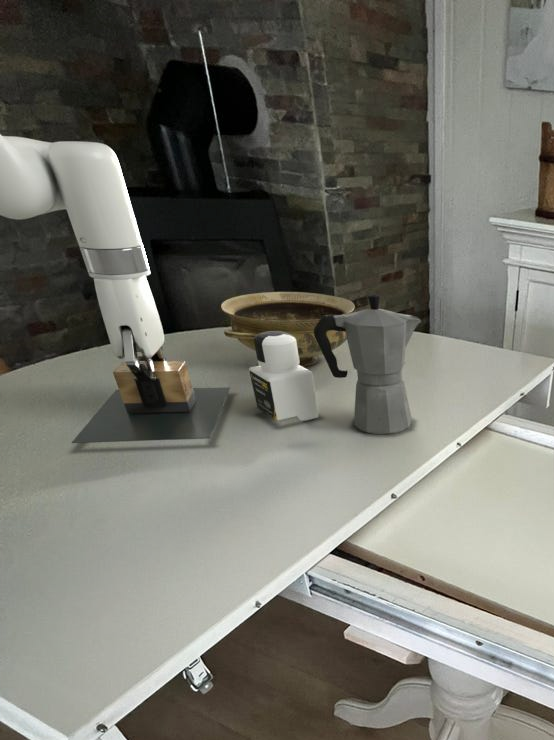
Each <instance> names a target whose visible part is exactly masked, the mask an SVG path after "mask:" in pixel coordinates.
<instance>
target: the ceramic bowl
mask: <svg viewBox="0 0 554 740" xmlns="http://www.w3.org/2000/svg"><path fill="white" fill-rule="evenodd" d="M220 309H221V310H222V311H223V313H224V314H226V315H227V316H229V317H230V325H231V326H230V327H231V329H225V330H224V331H223V334H224V335H225V337H227V338H231V339H232V338H234V339H237V340H238V341H239V342H240V343H241V344H242V345H244V346H245V347H247V348H249V349H251V350H253V351H255V352H256V350H255V345H254V338H255V337H256V336H257V335H259V334H261V333H263V332H269V331H282V332H287V333H289V334H292V335H293V336H294V337H295V338H296V342H297V348H298V354H299V361H300V363H299V364H298V365H300V366H302V367H306V366H311V365H314V364H316V363H317V362H318V357H317V356H320V355H323V353H322V351H321V349H320V347H319V345H318V343H317V341H316V339H315V336H314V328H315V326H316V325H317V323H318V322H319V320H320V319H321V317H322V316H324V315H347V314H350V313H354V312H355V309H356V306H355V304H354V302H353V301H351V300H349V299H346V298H343V297H340V296H334V295H327V294H322V293H314V292H304V291H303V292H301V291H272V292H271V291H269V292H256V293H249V294H248V293H247V294H241V295H238V296H233V297H230V298H228V299H226V300H224V301H223V302H222V303H221V305H220ZM326 336H327V337H328V339H329V341H330V345H331V349H332V351H334V350H335V349H337V348H339V347H340V346H342V345H343V344H344V343H345V342H347V337H346V333H345V332H344V331H335V330H328V331H327V333H326Z"/></svg>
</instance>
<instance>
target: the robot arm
mask: <svg viewBox="0 0 554 740" xmlns="http://www.w3.org/2000/svg"><path fill="white" fill-rule="evenodd" d="M62 210H66V212H67V215H68V218H69V221H70V224H71V227H72V230H73V232H74V235H75V239H76V241H77V244H78V246H79V250H80V253H81V255H82V259H83V261H84V264H85V267H86V270H87V273H88V276H89V277H90V278H93V281H94V289H95V293H96V299H97V302H98V306H99V309H100V314H101V316H102V319H103V324H104V327H105V329H106V333H107V336H108V339H109V343H110V346H111V349H112V352H113V355H114V356H115V357H116V358H117V359H119V360H123V359H124V362H126V365H127V366H128V367H129V368H130V371H132V375H133V378H134V380H135V382H136V385H137V388H138V391H139V394H140V397H141V400H142V403H143V406H144V407H146V408H157V407H166V405H167V403H166V400H165V396H164V393H163V390H162V387H161V384H160V380H159V379H156V375H155V371H154V367H153V362H152V361H167V359H166V356H165V353H164V352H163V351H164V349H163V345H164V343H165V334H164V329H163V325H162V321H161V318H160V315H159V311H158V309H157V305H156V302H155V299H154V296H153V293H152V290H151V288H150V285H149V281H148V280H147V279H148V278H147V277H148V276H150V275H151V274H152V273H151V270H150V266H149V263H148V258H147V255H146V251H145V248H144V244H143V242H142V237H141V235H140V231H139V227H138V224H137V219H136V217H135V213H134V209H133V206H132V203H131V199H130V196H129V193H128V189H127V186H126V182H125V178H124V176H123V172H122V168H121V165H120V162H119V158H118V157H117V154H116V153H115V151H114V150H113V148H111V147H110V146H108V145H107V144H106V143H105V144H104V143H101V142H95V141H80V140H79V141H77V140H74V141H73V140H72V141H71V140H67V141H64V140H63V141H62V140H61V141H54V142H49V141H42V140H38V139H32V138H27V137H22V136H14V135H13V136H12V135H10V136H6V135H2V134H1V133H0V216H2V217H4V218H7V219H11V220H19V221H20V220H26V219H31V218H34V217H37V216H40V215H44V214H49V213H51V212H56V211H57V212H58V211H62ZM138 353H141V355H140V356H139V355H138ZM140 362H146V364H147V368H148V369H147V368H146V366H145V365H144V364H140Z"/></svg>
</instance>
